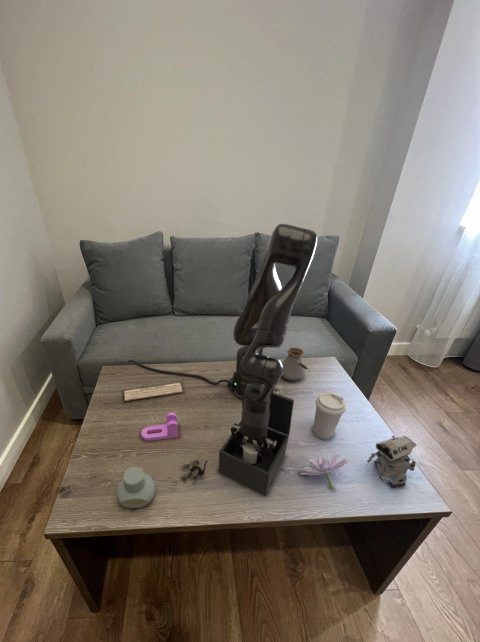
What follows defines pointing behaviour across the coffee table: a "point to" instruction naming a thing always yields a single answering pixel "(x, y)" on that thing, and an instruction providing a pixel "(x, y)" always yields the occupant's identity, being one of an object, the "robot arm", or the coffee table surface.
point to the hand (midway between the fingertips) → (250, 457)
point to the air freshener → (135, 488)
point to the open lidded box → (249, 474)
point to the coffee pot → (294, 365)
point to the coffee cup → (328, 414)
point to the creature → (194, 469)
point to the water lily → (324, 467)
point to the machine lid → (277, 410)
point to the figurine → (394, 459)
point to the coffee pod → (249, 453)
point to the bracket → (162, 429)
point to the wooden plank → (152, 391)
